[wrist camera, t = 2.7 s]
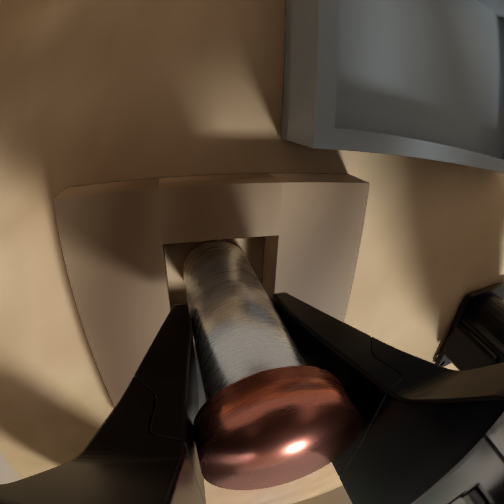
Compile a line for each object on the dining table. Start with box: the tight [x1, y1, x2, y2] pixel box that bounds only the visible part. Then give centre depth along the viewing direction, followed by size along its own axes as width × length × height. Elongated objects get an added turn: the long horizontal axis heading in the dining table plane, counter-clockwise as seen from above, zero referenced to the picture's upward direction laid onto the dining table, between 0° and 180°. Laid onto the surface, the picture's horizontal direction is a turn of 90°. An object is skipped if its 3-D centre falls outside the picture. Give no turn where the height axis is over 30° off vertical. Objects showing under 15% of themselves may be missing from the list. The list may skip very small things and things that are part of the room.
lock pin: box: [183, 240, 363, 490], centre depth 8 cm, size 3×3×8 cm
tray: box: [281, 0, 504, 173], centre depth 9 cm, size 14×10×2 cm
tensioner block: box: [53, 173, 369, 409], centre depth 11 cm, size 10×12×3 cm
